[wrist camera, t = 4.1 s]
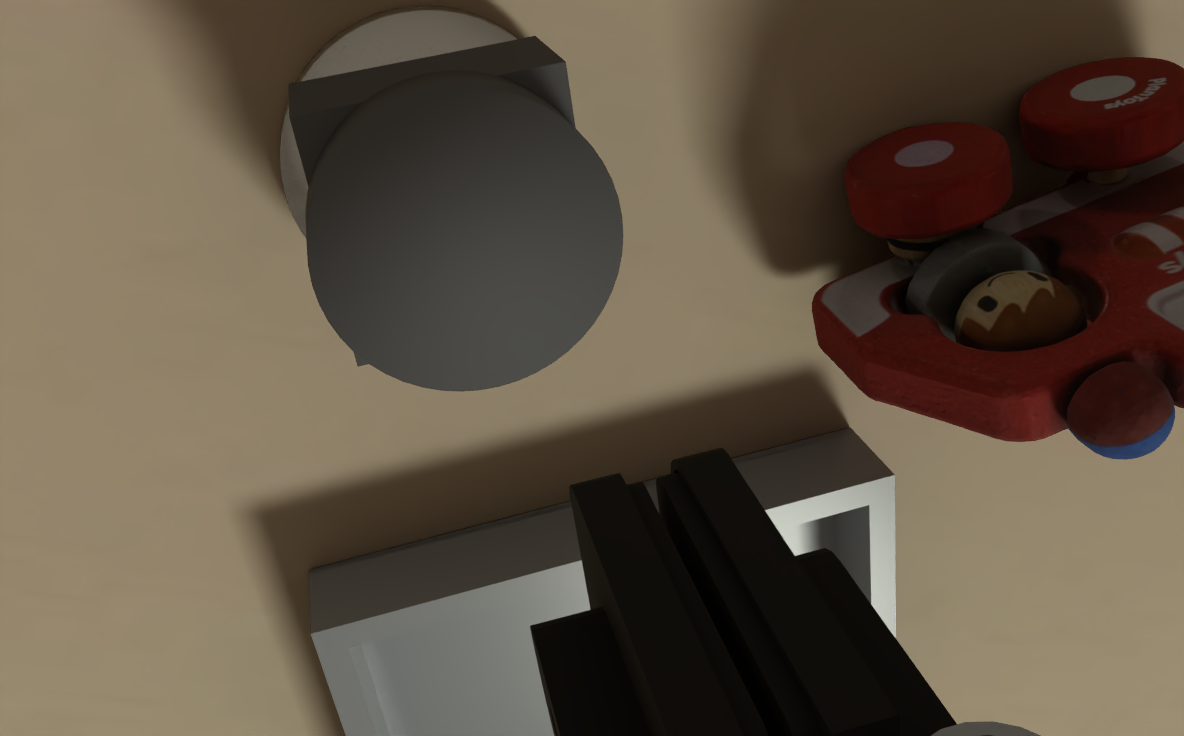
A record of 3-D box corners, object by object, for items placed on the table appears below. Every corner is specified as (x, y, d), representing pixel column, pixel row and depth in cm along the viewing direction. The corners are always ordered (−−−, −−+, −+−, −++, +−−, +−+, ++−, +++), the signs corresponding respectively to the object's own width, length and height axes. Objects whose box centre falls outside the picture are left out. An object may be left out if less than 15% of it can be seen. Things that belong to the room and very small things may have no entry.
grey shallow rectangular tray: (850, 427, 33) (894, 475, 31) (858, 711, 39) (896, 771, 37) (308, 570, 31) (310, 633, 28) (402, 852, 36) (410, 925, 34)
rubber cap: (546, 19, 24) (601, 60, 20) (584, 270, 27) (640, 352, 22) (270, 72, 23) (267, 127, 19) (340, 325, 26) (351, 422, 22)
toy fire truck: (755, 181, 29) (967, 342, 20) (1166, 23, 30) (1546, 109, 21) (803, 392, 32) (1004, 612, 23) (1172, 244, 33) (1499, 400, 24)
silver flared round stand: (545, -20, 25) (597, 11, 21) (587, 256, 29) (639, 329, 24) (243, 37, 24) (234, 80, 20) (322, 316, 28) (329, 404, 23)
